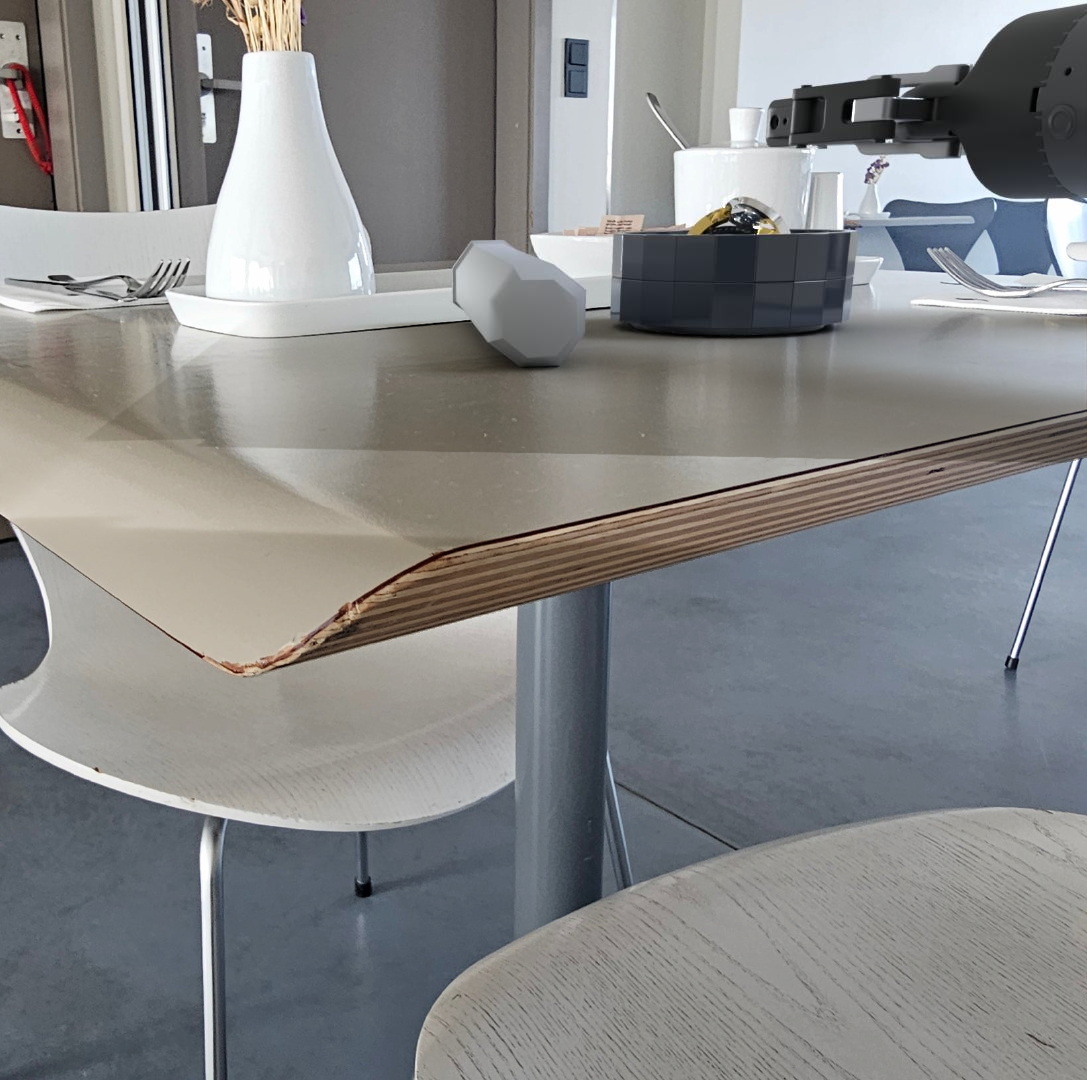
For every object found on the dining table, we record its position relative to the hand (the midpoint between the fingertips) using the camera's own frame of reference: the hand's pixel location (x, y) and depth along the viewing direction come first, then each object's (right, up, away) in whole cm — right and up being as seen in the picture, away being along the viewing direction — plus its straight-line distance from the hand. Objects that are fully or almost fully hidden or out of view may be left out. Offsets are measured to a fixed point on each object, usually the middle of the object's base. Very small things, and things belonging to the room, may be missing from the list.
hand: (836, 125), depth 62 cm
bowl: (-3, -8, +11) cm, 14 cm away
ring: (-3, -7, +11) cm, 13 cm away
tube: (-17, -11, +4) cm, 20 cm away
